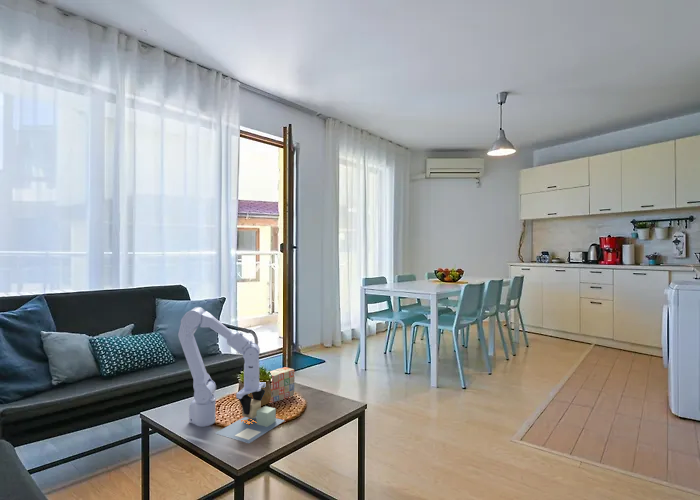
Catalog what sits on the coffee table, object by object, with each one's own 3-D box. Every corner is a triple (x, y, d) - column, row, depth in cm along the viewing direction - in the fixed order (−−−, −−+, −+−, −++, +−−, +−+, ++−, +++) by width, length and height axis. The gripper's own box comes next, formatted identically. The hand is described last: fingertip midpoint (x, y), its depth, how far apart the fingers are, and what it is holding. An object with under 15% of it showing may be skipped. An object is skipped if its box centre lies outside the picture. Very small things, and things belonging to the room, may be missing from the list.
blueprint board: (214, 435, 142) (214, 432, 142) (252, 414, 160) (252, 412, 160) (249, 445, 135) (249, 443, 135) (285, 422, 152) (285, 420, 152)
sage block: (256, 424, 149) (256, 410, 149) (265, 419, 154) (265, 406, 153) (267, 426, 147) (267, 413, 147) (275, 421, 151) (275, 408, 151)
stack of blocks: (256, 411, 163) (256, 381, 163) (246, 407, 167) (246, 378, 167) (294, 396, 180) (294, 368, 180) (285, 392, 184) (285, 366, 183)
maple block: (242, 416, 152) (242, 403, 152) (251, 411, 157) (251, 398, 157) (252, 418, 150) (252, 405, 150) (261, 413, 154) (261, 400, 154)
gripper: (246, 383, 145) (246, 420, 145) (271, 372, 158) (271, 406, 158) (232, 380, 148) (232, 416, 148) (258, 369, 161) (258, 403, 161)
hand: (251, 411), depth 153 cm, fingers closed on maple block, 5 cm apart
